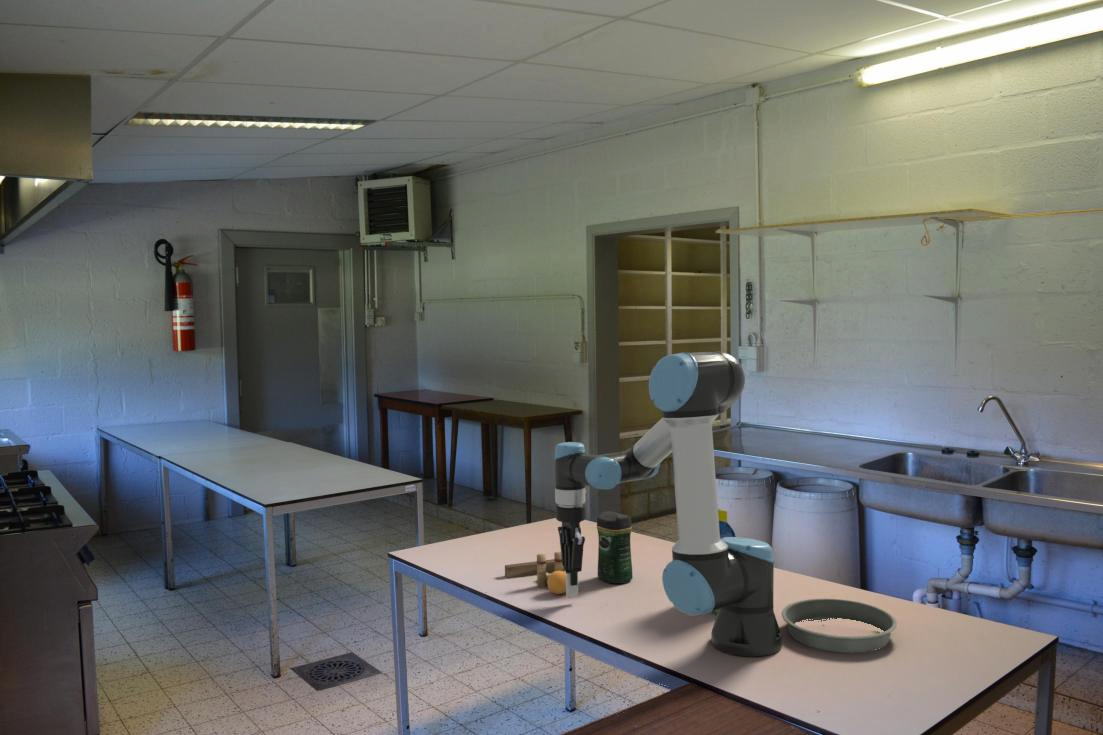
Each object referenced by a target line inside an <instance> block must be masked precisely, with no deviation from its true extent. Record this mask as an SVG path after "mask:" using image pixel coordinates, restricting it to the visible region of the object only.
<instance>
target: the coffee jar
mask: <svg viewBox="0 0 1103 735" xmlns="http://www.w3.org/2000/svg"><path fill="white" fill-rule="evenodd" d="M632 529H633V526H632V517H631V516H629V515H628V514H627V515H626V514H622V513H618V512H614V511H612V510H609V511H603V512H600V513H599V514H598V515H597V518H596V530H597V534H598V535H597V536H598V550H597V551H598V553H597V554H598V555H597V558H598V559H597V578H598V579H600V580H602V581H604V582H606V583H611V584H626V583H628V582H630V581H632V579H633V564H632V549H631V534H632Z"/></svg>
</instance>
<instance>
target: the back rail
mask: <svg viewBox="0 0 1103 735" xmlns="http://www.w3.org/2000/svg"><path fill="white" fill-rule="evenodd" d="M563 569H564V572H566V571H565V566H563ZM554 571H555V561H554V559H546V572H548V573H549V574H551V573H553V572H554ZM534 575H535V576H537V560H536V561H529V562H518V563H511V564H505V565H504V576H505V578H507V579H510V578H519V577H528V576H534Z"/></svg>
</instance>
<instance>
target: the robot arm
mask: <svg viewBox="0 0 1103 735" xmlns="http://www.w3.org/2000/svg"><path fill="white" fill-rule="evenodd" d="M744 372H745V371H744V368H743V367H742V365H741V363H740V362H739V360H738V359H737V358H736V357H734V356H732V354H729V353H727V352H724V351H720V350H712V351H700V352H679V353H674V354H667V355H666V356H663V357H662V358H660V359H659V360H658V361H657V362H656V364H655V366H653V368H652V370H651V372H650V376H649V380H648V393H649V397H650V400H651V401H653V405H654V406H655V407H656V408H657V409H659V410H661V413H662V417H661V419H659V421H657V422H656V423H655V424H654V425H653V426H652V427H651V428H650V429H649V430H648V431H647V432H646V433H645V434H644V435H643V436H642V437H641V438H640V439H639V440H637V442H635V443H634V444H633V445H632V446H631V447H630V448H629V449H627V450H623V451H619V452H611V453H604V454H598V455H594V454H589V453H586V450H585V445H584V444H583V442H578V441H577V442H575V441H567V442H560V443H558V444H556V445H555V446H554V447H555V448H554V459H553V462H554V484H555V487H554V500H555V504H557V505H556V506H555V519H556V520H557V522H561V526H558V527H557V531H558V536H559V544H560V546H559V547H560V552H561V558H562V565H563V566H565V571H564V572H565V573H566V592H565V597H566V598H567V599H571V598H579V572H582V570H583V569H582V568H583V557H584V547H585V546H584V545H585V542H586V536H581V535H582V529H581V524H580V523H581V522H583V521H585V520H586V518H587V517H586V516H587V514H586V512H587V510H586V509H587V508H586V507H587V506H586V504H585V503H586V494H587V491H588V490H586V486H588V487H591V488H594V489H597V490H612V489H614V488H615V487H616V486H617V485H619V484H622V483H627V482H634V481H641V480H642V481H643V480H644V481H645V480H646V479H649V478H652V477H655V476H656V474H658V473H659V468H660V467H661V463H662V462H663V461H664V460H665V459H666V458H667V457H668V456H669V455H671V454H672V465H673V479H674V481H673V482H674V495H675V508H676V521H677V522H676V523H677V536H678V537H677V538H678V540H677V541H676V542H675V543H674V544H673V545H672V547H671V552H672V556H671V557H672V560H671V561H670V562H668V563H667V564H665V568H664V569H663V571H662V576H661V577H662V578H661V579H662V586H663V590H664V592H665V595H666V596H667V599H668V601H669V602H671V604H672V605H673V607H675V609H676V610H678V611H679V612H681V613H682V614H684V615H688V616H698V615H699V616H700V615H706V614H710V613H712V612H711V611H714V610H717V609H719V610H718V613H717V614H716V616H715V620H714V623H713V627H712V629H711V644H712V645H713V647H714V648H715V649H717V650H718V651H721V652H723V653H726V654H729V655H735V656H738V657H739V656H741V657H751V658H753V657H765V656H771V655H773V654H776V653H778V652H779V651H780V650H781V649H782V647H783V637H782V636H783V635H782V632H781V630H780V627H779V624H778V620H777V617H776V614H775V611H774V589H775V588H774V580H775V579H774V576H775V575H774V572H775V571H774V570H775V569H774V566H775V565H774V564H775V560H774V552H773V551H774V550H773V548H772V547H771V545H770V544H769V543H767V542H766V541H763V540H759V539H755V538H749V537H724V538H720V533H719V519H718V508H719V507H718V505H719V504H718V494H717V492H718V491H717V480H716V479H717V478H716V466H715V465H716V464H715V453H714V449H715V448H714V437H713V426H712V425H713V423H714V421H715V420H716V419H717V418H718V417H719V415H722V414H724V412H726V411H727V410H728V409H729V408H731V406H732V405H733V404H734V403H736V402H737V400H738V399H739V398H740V396H741V395H742V393H743V391H744V389H745V384H746V379H745V378H746V376H745V373H744Z"/></svg>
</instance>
